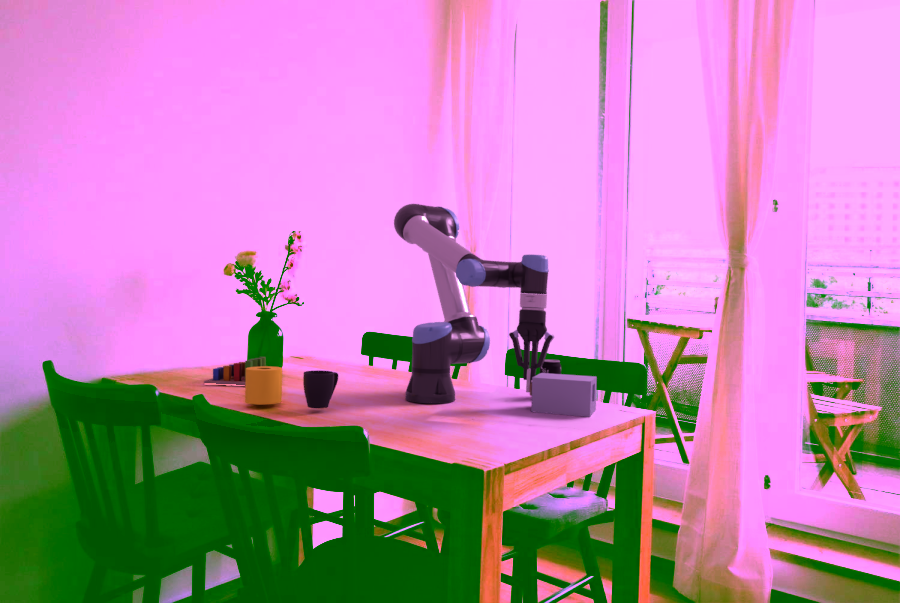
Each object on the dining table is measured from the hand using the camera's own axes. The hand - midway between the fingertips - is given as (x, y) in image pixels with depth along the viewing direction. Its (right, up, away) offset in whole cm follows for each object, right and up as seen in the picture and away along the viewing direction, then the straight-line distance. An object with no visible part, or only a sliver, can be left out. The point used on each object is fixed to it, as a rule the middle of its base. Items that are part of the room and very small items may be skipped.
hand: (528, 391), depth 192 cm
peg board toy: (-94, -2, +38) cm, 101 cm away
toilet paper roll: (-76, -3, -1) cm, 76 cm away
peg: (+6, -1, -2) cm, 7 cm away
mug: (-58, -3, -5) cm, 58 cm away
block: (+10, -5, -3) cm, 11 cm away
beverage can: (+9, -5, +18) cm, 21 cm away
